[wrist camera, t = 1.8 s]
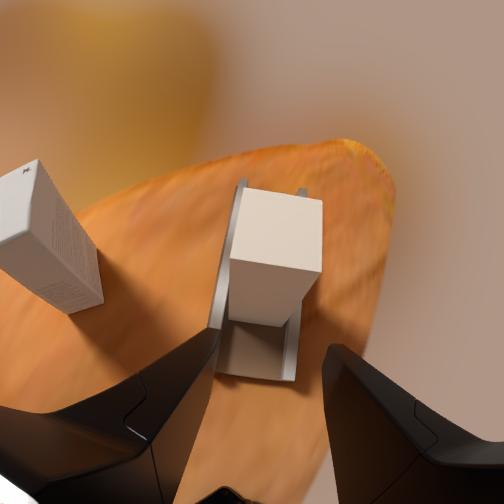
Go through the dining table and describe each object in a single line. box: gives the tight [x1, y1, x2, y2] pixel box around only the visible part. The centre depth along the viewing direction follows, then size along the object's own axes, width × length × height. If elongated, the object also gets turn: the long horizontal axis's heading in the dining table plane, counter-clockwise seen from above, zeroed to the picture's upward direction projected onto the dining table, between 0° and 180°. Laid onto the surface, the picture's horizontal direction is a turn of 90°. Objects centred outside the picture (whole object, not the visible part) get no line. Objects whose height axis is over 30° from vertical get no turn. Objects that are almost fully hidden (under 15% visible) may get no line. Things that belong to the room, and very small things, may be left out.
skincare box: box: [0, 159, 104, 314], centre depth 17 cm, size 6×4×12 cm
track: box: [207, 178, 307, 383], centre depth 23 cm, size 17×7×2 cm, turn 172°
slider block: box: [228, 187, 322, 327], centre depth 18 cm, size 4×4×10 cm
